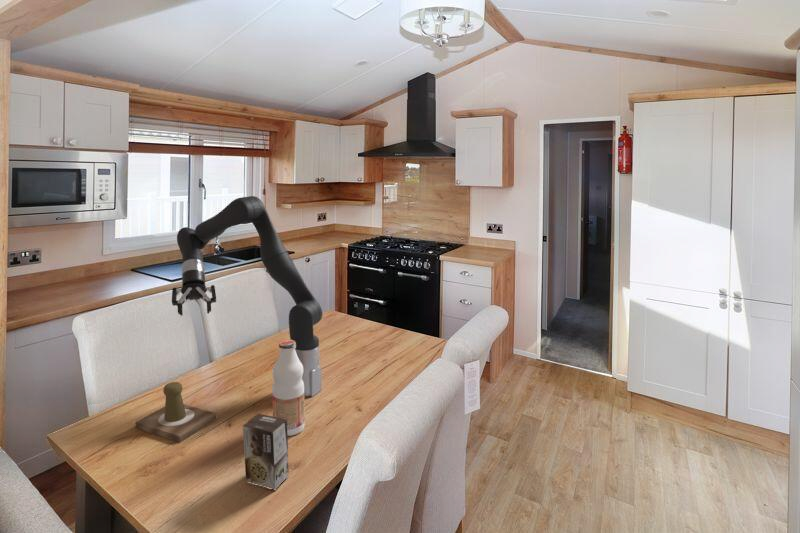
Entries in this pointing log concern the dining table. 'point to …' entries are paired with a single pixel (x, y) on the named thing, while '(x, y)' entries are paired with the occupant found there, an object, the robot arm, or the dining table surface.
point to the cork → (173, 402)
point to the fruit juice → (289, 388)
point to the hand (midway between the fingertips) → (194, 313)
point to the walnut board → (176, 423)
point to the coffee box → (266, 450)
